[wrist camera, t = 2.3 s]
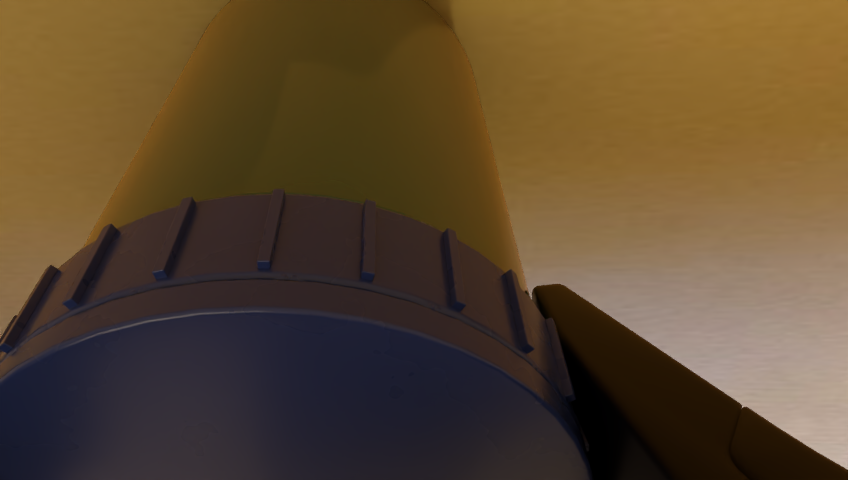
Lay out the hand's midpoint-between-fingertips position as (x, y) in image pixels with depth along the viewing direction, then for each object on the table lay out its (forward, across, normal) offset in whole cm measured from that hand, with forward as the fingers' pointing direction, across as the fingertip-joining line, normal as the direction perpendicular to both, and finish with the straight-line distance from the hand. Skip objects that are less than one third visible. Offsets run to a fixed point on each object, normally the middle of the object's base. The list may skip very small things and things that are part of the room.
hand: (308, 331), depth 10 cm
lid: (-3, 0, 0) cm, 3 cm away
